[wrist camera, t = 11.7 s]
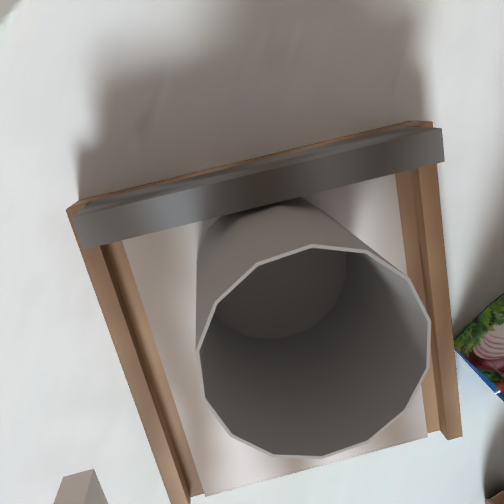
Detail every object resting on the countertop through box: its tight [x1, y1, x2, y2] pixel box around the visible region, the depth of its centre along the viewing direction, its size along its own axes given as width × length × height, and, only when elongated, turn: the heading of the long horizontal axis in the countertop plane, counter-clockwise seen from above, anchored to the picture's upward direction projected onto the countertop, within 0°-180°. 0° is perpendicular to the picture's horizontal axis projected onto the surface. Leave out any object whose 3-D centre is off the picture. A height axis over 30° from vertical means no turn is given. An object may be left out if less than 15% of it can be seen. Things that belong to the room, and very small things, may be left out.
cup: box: [195, 197, 431, 459], centre depth 21 cm, size 8×8×10 cm
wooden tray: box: [66, 121, 462, 504], centre depth 26 cm, size 19×20×6 cm
